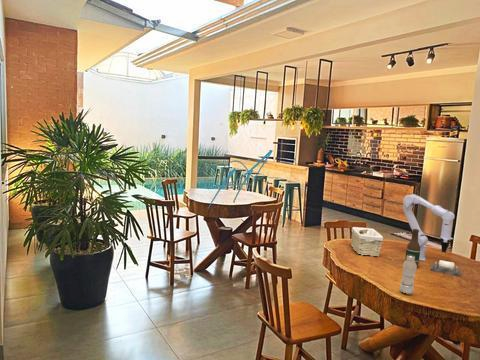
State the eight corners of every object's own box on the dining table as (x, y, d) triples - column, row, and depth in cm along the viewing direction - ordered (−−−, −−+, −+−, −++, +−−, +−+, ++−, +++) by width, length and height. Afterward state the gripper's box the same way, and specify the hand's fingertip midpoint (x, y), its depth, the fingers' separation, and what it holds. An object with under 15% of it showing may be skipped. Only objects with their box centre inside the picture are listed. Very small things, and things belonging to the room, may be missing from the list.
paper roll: (437, 268, 226) (438, 261, 225) (438, 266, 230) (439, 258, 229) (453, 272, 222) (455, 264, 221) (453, 269, 226) (454, 261, 225)
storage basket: (349, 245, 268) (351, 226, 266) (371, 247, 267) (373, 228, 265) (356, 256, 244) (359, 234, 243) (381, 258, 243) (384, 236, 242)
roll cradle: (430, 270, 225) (431, 264, 225) (431, 265, 234) (431, 259, 234) (460, 276, 218) (461, 270, 217) (460, 271, 227) (460, 265, 226)
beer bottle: (417, 265, 233) (422, 229, 230) (418, 269, 226) (423, 231, 223) (404, 263, 236) (409, 227, 233) (404, 266, 229) (409, 229, 226)
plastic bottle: (396, 290, 190) (401, 253, 188) (409, 290, 191) (413, 253, 189) (403, 295, 184) (407, 257, 182) (415, 296, 185) (420, 258, 182)
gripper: (453, 233, 227) (450, 254, 229) (453, 229, 240) (450, 249, 242) (441, 231, 231) (438, 252, 232) (441, 227, 243) (438, 247, 245)
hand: (443, 250), depth 237 cm, fingers open, 7 cm apart
